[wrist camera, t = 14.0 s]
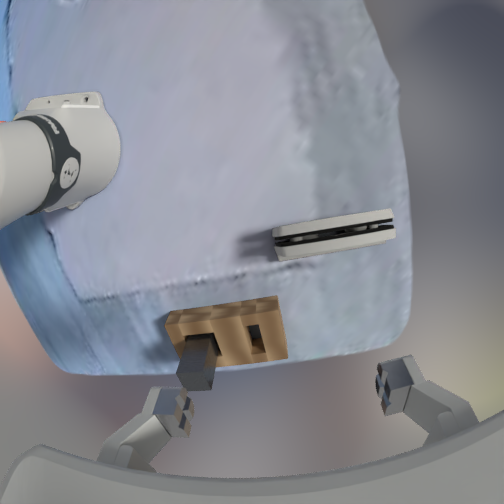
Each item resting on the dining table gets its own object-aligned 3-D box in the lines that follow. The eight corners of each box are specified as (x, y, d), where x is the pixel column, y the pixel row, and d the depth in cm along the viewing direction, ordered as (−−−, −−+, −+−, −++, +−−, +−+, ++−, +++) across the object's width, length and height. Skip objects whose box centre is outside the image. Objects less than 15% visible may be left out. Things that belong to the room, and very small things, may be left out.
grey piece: (276, 260, 43) (274, 269, 34) (271, 228, 43) (267, 228, 33) (384, 242, 42) (410, 245, 32) (379, 211, 41) (405, 206, 31)
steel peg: (199, 340, 50) (185, 391, 39) (192, 323, 49) (176, 373, 38) (221, 338, 50) (211, 390, 39) (214, 320, 48) (202, 371, 37)
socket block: (189, 354, 52) (185, 369, 48) (170, 311, 48) (164, 325, 44) (286, 342, 50) (288, 358, 46) (277, 295, 46) (278, 309, 42)
